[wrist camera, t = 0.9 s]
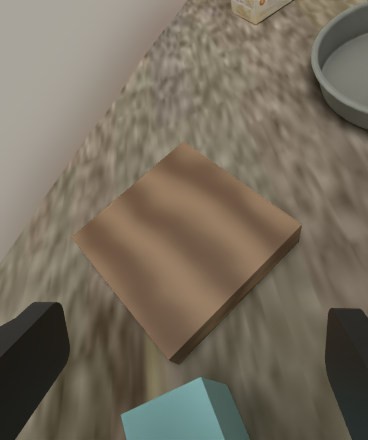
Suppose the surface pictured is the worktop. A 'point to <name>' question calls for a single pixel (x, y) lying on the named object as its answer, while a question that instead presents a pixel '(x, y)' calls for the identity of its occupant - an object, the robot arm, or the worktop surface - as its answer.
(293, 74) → the worktop surface
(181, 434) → the teal pillar
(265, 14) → the coffeecake box
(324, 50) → the cake pan
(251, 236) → the walnut base
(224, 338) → the worktop surface
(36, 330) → the robot arm
